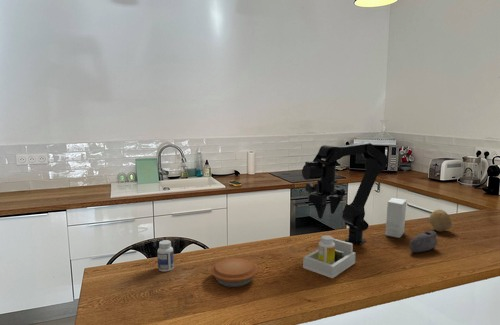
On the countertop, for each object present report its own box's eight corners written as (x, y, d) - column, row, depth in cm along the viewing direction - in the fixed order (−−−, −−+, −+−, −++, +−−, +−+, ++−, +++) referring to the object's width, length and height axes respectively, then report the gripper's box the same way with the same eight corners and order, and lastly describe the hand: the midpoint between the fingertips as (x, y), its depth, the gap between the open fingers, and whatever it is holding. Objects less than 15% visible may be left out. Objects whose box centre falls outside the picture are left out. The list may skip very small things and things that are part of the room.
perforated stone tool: (414, 256, 133) (416, 239, 132) (403, 251, 138) (404, 234, 137) (440, 249, 140) (441, 232, 139) (428, 245, 144) (429, 228, 143)
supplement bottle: (335, 263, 125) (336, 235, 123) (332, 269, 120) (333, 241, 118) (320, 260, 127) (321, 233, 125) (316, 266, 122) (317, 238, 120)
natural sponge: (425, 227, 166) (426, 206, 164) (445, 228, 165) (446, 207, 163) (432, 233, 157) (433, 212, 156) (453, 234, 156) (455, 212, 154)
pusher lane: (327, 254, 135) (327, 236, 134) (355, 263, 127) (355, 244, 126) (303, 267, 123) (303, 248, 122) (332, 278, 116) (333, 258, 115)
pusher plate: (322, 256, 130) (323, 245, 129) (343, 263, 124) (344, 251, 123) (321, 257, 129) (321, 246, 128) (342, 264, 123) (342, 252, 123)
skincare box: (389, 230, 162) (391, 197, 160) (405, 233, 158) (407, 199, 156) (384, 235, 155) (386, 201, 153) (400, 238, 151) (402, 203, 149)
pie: (202, 276, 118) (201, 262, 117) (240, 264, 126) (240, 251, 126) (226, 296, 105) (226, 280, 104) (267, 281, 114) (267, 266, 113)
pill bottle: (168, 263, 127) (167, 238, 126) (176, 268, 123) (175, 242, 122) (155, 268, 123) (154, 242, 122) (163, 273, 120) (162, 246, 118)
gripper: (322, 172, 150) (321, 207, 152) (297, 178, 137) (296, 217, 139) (346, 175, 143) (344, 212, 145) (321, 182, 129) (320, 223, 131)
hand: (326, 216), depth 140 cm, fingers open, 9 cm apart
